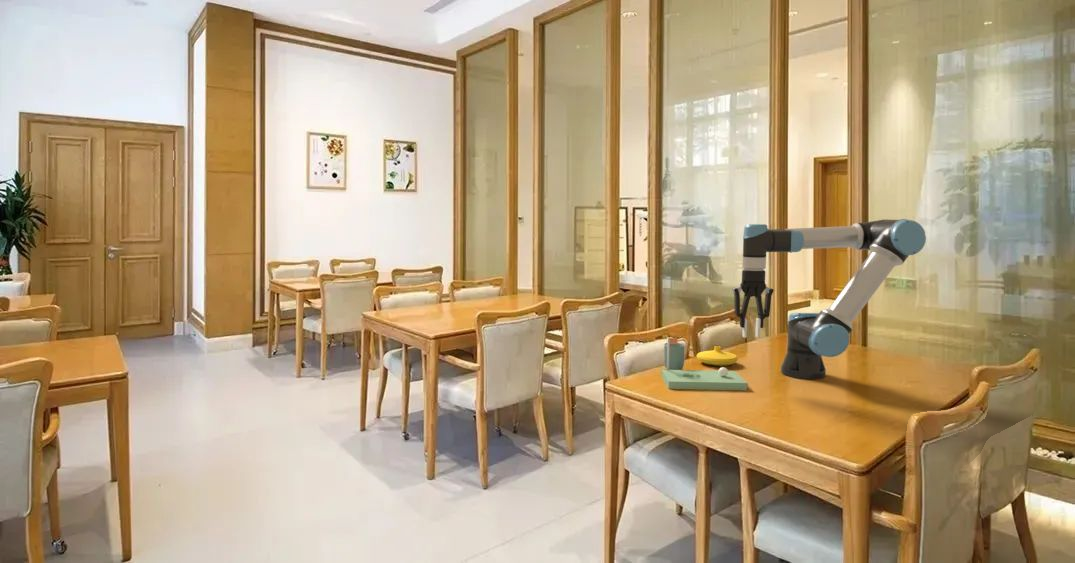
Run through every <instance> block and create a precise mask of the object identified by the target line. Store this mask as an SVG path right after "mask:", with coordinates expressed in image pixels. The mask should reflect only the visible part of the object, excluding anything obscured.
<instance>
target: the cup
mask: <svg viewBox="0 0 1075 563" xmlns="http://www.w3.org/2000/svg"><path fill="white" fill-rule="evenodd" d="M685 360H686V344H684V343H682V342H677V344H670V345H669V370H684V367H685ZM663 364H664V367H665V370H667V342H665V343H664V344H663Z"/></svg>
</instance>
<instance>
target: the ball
mask: <svg viewBox="0 0 1075 563" xmlns="http://www.w3.org/2000/svg"><path fill="white" fill-rule="evenodd" d="M717 371H718V372H719V375H720V376H723V377H724V376H726V375H727V374H728V371H729V369H727V368H726V367H725V366H721V367H720V368H719V369H718V370H717Z"/></svg>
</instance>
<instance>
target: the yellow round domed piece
mask: <svg viewBox="0 0 1075 563" xmlns="http://www.w3.org/2000/svg"><path fill="white" fill-rule="evenodd" d="M696 358H697V360H698V361H700V362H702V363H703V364H705V365H710V366H715V367H725V366H730V365H734V364H735V363H737V362H738V360H739V358H738V356H737V355H736V354H734V353H731V352H728V351H723V350H721V346H720V345H715V346H714V349H713V350H705V351H700V352H698V353H696Z"/></svg>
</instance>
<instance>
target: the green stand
mask: <svg viewBox="0 0 1075 563" xmlns="http://www.w3.org/2000/svg"><path fill="white" fill-rule="evenodd" d="M666 338H667V339H666V341H667V342H666V343H667V369H661V378H662V379H663V382H664V384H665V385H666V387H667V388H668V389H670V390H708V391H709V390H715V391H717V390H719V391H720V390H721V391H722V390H723V391H747V390H748V382H747V381H746V380H745V379H743V377H741V375H739V373H737V372H736V371H734V370H728V374H727V375H726V376H724V377H723V376H720V375H719V372H718V371H719V370H704V369H701V370H700V369H699V370H696V369H694V370H693V369H682V370H669V345H670V344H677V343H679V342H678V341H679V340H678V337H666Z"/></svg>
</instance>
